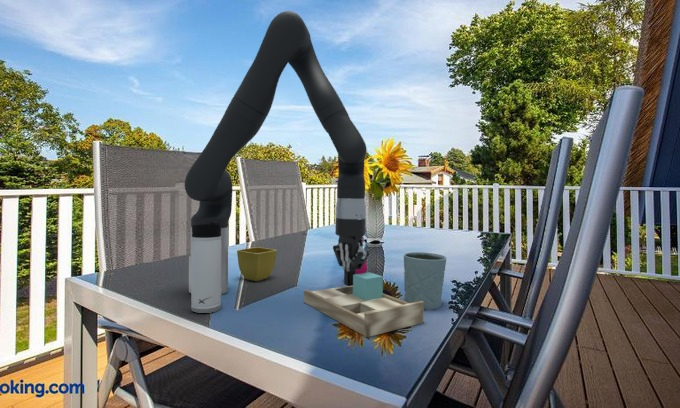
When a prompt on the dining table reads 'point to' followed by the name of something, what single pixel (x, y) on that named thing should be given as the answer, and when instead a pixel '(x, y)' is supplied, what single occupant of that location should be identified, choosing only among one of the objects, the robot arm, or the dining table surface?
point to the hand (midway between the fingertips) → (349, 285)
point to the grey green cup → (424, 278)
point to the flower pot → (256, 262)
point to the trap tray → (365, 310)
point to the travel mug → (206, 268)
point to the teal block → (368, 286)
